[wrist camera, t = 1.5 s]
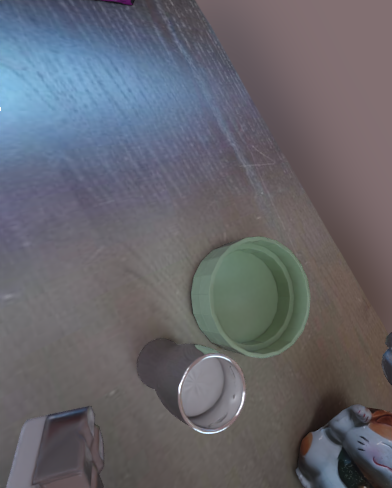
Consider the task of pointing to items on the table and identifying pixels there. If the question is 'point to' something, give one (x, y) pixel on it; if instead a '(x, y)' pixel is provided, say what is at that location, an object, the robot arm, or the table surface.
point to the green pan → (251, 297)
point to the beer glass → (194, 383)
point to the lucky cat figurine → (349, 451)
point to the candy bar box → (121, 1)
